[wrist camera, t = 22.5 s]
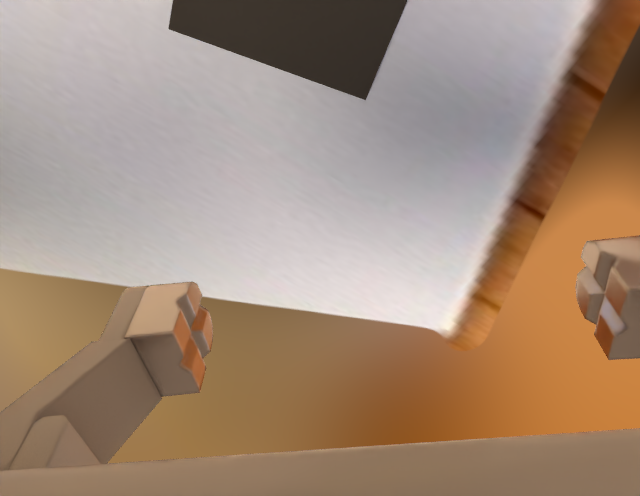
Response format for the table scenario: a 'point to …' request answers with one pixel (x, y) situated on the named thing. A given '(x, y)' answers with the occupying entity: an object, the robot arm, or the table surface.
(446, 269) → the table surface
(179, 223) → the table surface
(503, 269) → the table surface
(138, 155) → the table surface
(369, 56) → the rubber mat
